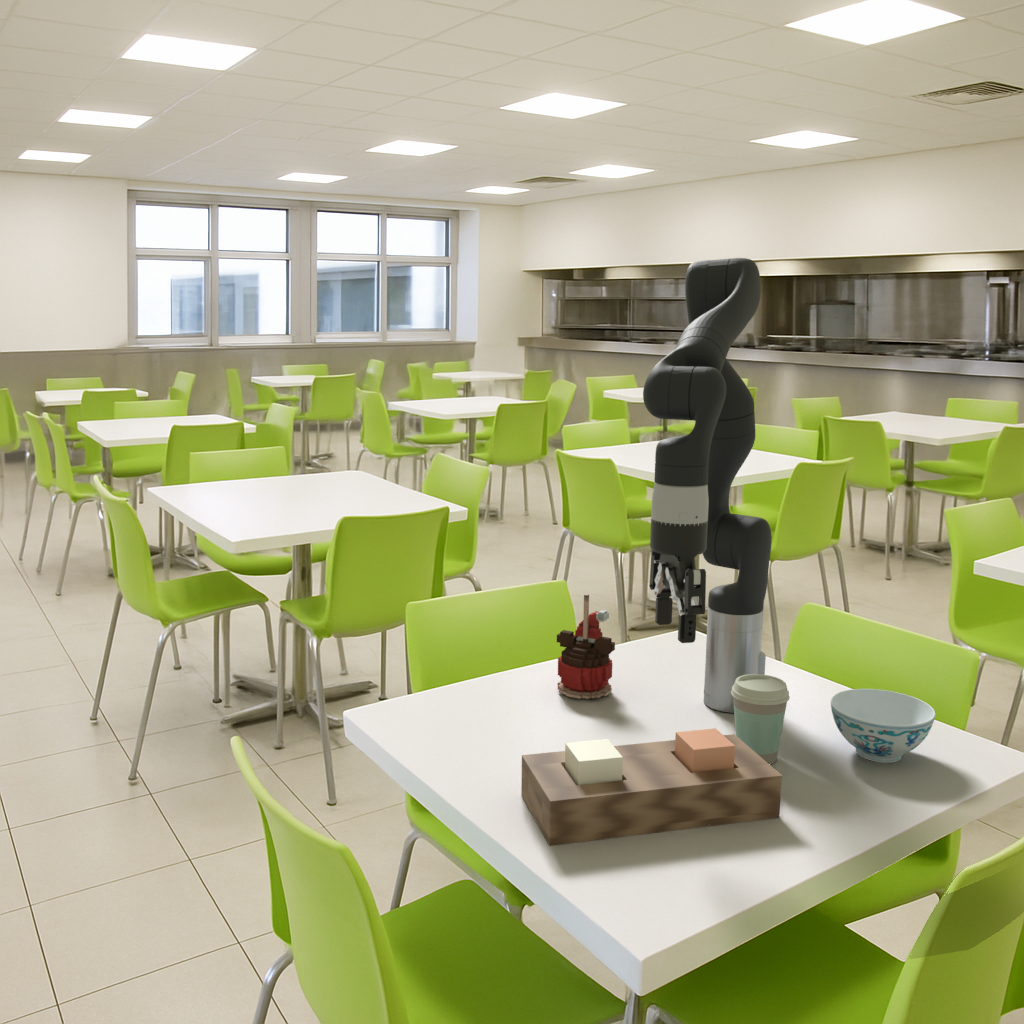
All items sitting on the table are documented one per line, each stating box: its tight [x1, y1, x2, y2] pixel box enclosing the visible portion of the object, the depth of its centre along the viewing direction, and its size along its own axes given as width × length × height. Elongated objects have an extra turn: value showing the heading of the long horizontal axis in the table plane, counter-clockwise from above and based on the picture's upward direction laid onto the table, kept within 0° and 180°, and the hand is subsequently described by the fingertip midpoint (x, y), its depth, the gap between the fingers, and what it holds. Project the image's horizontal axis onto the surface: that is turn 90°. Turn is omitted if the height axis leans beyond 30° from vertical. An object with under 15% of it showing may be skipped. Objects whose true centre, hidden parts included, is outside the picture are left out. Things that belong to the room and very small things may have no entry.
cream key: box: [564, 738, 623, 785], centre depth 135 cm, size 6×6×4 cm
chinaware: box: [830, 688, 936, 764], centre depth 155 cm, size 15×15×8 cm
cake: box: [556, 593, 616, 700], centre depth 179 cm, size 11×9×18 cm
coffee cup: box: [731, 674, 790, 765], centre depth 153 cm, size 8×8×12 cm
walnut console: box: [521, 733, 783, 846], centre depth 138 cm, size 32×14×6 cm, turn 104°
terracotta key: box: [674, 728, 735, 773], centre depth 139 cm, size 6×6×4 cm
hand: (674, 632), depth 139 cm, fingers open, 8 cm apart
